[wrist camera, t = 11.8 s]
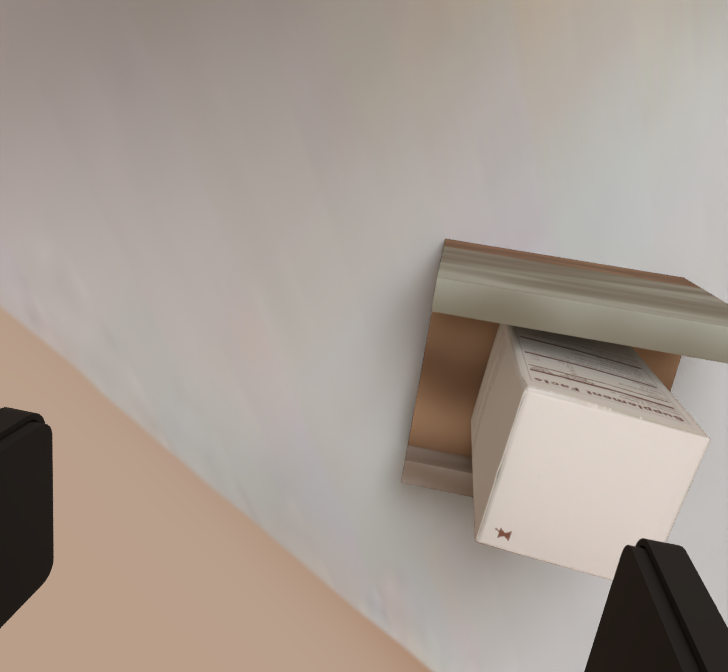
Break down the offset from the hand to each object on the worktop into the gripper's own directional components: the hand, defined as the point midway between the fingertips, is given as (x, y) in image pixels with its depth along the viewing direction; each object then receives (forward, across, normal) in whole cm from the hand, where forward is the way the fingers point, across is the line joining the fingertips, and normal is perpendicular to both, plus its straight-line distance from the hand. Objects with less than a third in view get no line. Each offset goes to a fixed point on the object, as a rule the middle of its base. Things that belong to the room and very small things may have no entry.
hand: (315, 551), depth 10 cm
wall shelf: (+30, -8, +6) cm, 32 cm away
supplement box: (+28, -8, +6) cm, 29 cm away
